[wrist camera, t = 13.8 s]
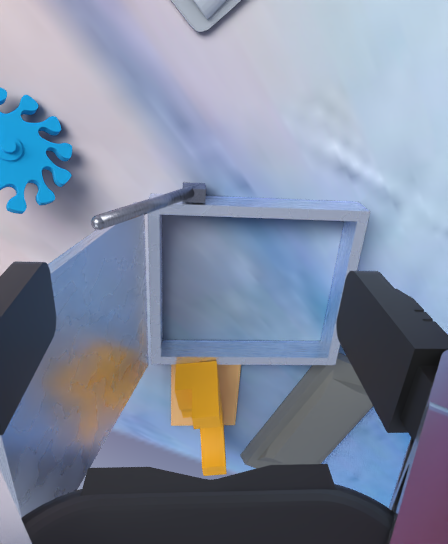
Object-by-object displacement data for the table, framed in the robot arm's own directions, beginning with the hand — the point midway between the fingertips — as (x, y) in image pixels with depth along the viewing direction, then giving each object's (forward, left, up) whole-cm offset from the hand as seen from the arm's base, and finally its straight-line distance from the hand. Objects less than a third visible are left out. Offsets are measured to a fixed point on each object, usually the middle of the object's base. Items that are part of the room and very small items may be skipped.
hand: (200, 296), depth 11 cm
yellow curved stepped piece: (-2, +28, -26) cm, 39 cm away
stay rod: (+3, +4, -26) cm, 27 cm away
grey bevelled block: (-16, +34, -29) cm, 47 cm away
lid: (+7, +14, -15) cm, 22 cm away
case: (-6, +14, -28) cm, 32 cm away
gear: (+15, +1, -28) cm, 32 cm away
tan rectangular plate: (-2, +30, -28) cm, 41 cm away
